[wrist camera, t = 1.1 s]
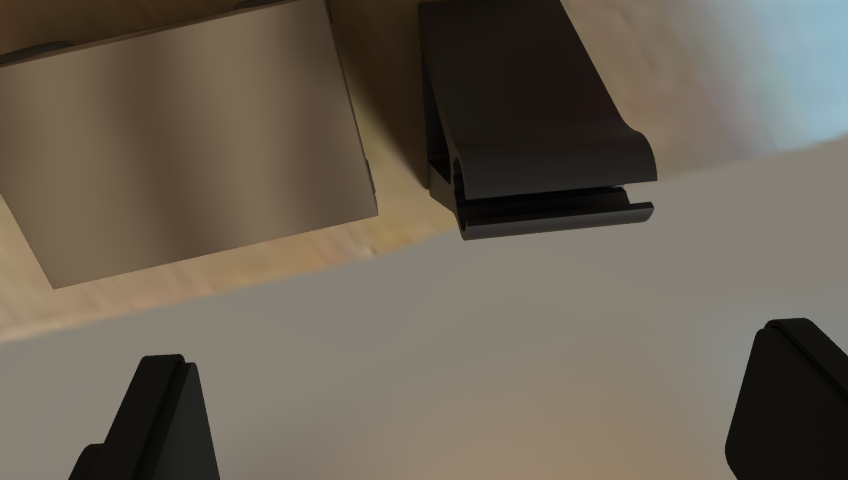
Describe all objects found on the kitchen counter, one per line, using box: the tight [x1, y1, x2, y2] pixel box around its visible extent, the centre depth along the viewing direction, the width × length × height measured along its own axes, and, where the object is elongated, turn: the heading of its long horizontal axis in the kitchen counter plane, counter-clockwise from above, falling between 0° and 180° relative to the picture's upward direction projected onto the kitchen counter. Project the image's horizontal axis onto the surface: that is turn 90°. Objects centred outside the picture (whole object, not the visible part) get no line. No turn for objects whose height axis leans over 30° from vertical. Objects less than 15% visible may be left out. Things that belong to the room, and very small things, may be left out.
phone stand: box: [418, 0, 657, 241], centre depth 26 cm, size 9×6×12 cm, turn 3°
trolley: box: [0, 0, 378, 290], centre depth 28 cm, size 14×9×4 cm, turn 101°
